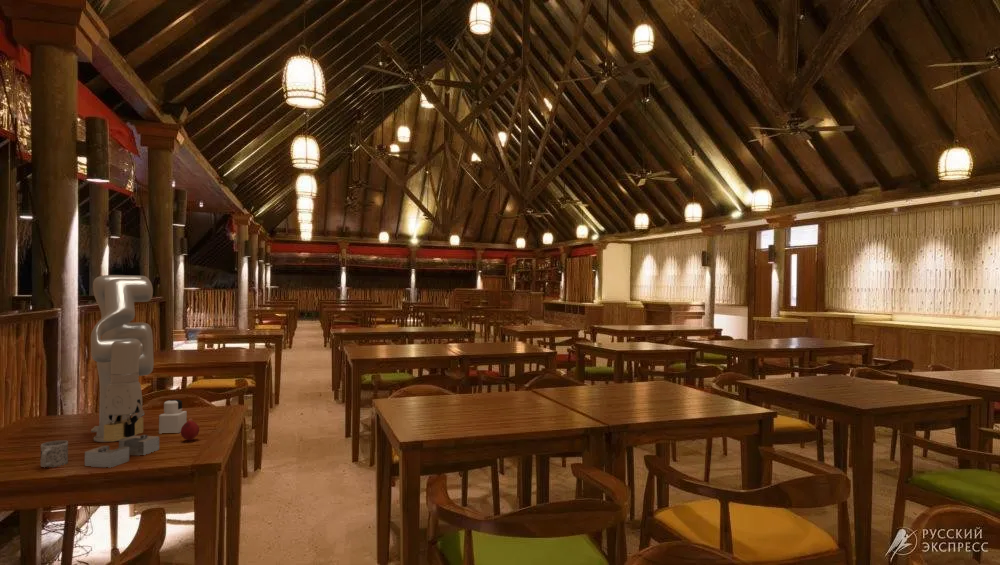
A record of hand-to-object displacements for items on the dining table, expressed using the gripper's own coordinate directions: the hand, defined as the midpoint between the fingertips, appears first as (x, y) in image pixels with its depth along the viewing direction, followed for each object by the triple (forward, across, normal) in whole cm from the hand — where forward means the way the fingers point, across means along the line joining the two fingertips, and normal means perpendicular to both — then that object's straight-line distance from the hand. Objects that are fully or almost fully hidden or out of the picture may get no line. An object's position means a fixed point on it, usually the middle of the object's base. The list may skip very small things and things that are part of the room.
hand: (124, 435), depth 183 cm
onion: (+7, +7, +22) cm, 24 cm away
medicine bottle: (+7, -9, +34) cm, 36 cm away
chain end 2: (+7, 0, +7) cm, 10 cm away
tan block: (0, 0, 0) cm, 0 cm away
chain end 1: (+7, 0, -6) cm, 10 cm away
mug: (+7, -15, -11) cm, 20 cm away
